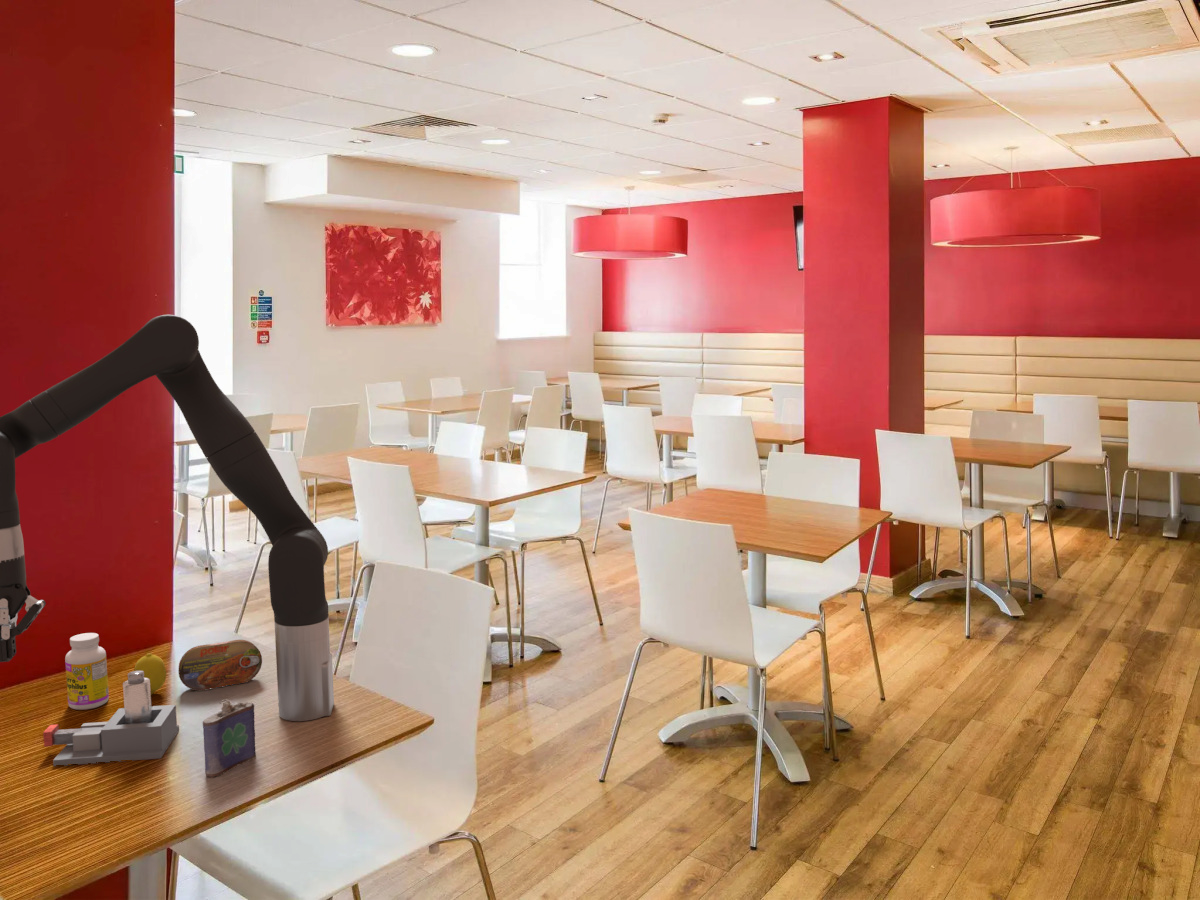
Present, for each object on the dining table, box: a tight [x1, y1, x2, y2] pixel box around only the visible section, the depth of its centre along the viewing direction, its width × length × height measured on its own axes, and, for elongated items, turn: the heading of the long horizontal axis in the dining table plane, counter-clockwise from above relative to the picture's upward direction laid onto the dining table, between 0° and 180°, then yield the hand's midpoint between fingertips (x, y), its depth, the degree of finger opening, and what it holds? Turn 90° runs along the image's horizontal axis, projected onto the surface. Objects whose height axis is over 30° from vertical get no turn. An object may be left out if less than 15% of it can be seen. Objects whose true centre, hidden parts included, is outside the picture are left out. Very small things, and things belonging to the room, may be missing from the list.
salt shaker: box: [122, 670, 153, 724], centre depth 159 cm, size 4×4×12 cm
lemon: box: [133, 652, 167, 695], centre depth 182 cm, size 6×6×8 cm
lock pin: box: [42, 724, 103, 747], centre depth 157 cm, size 9×3×2 cm, turn 99°
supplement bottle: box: [64, 632, 110, 711], centre depth 177 cm, size 7×7×13 cm
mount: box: [52, 704, 180, 767], centre depth 159 cm, size 16×11×5 cm
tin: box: [178, 639, 263, 692], centre depth 186 cm, size 15×3×8 cm, turn 117°
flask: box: [202, 698, 257, 779], centre depth 152 cm, size 9×3×11 cm, turn 151°
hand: (5, 660), depth 154 cm, fingers closed
